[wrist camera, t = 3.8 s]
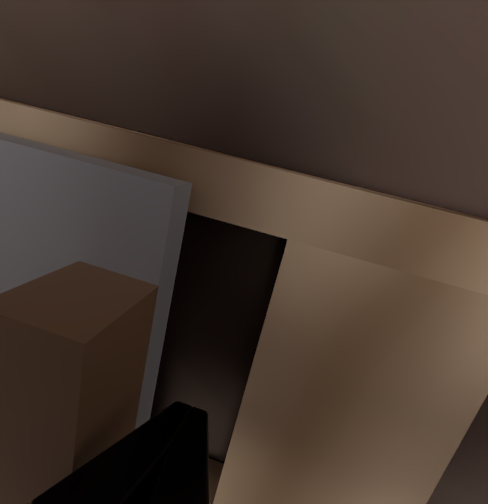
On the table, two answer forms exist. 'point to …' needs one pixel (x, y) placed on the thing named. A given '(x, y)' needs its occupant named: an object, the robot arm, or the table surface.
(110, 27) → the table surface
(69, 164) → the sliding lid
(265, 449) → the puzzle board
